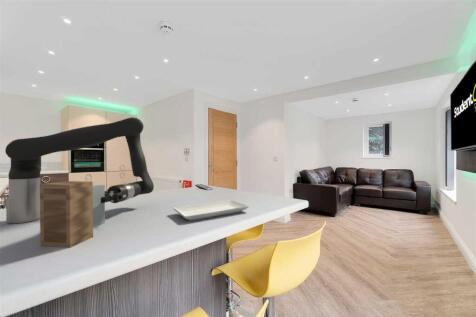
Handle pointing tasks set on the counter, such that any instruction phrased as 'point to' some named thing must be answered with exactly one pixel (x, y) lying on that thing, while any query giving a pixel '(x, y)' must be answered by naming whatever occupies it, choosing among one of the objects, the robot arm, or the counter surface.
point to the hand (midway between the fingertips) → (91, 200)
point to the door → (98, 205)
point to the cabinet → (66, 213)
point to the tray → (210, 209)
